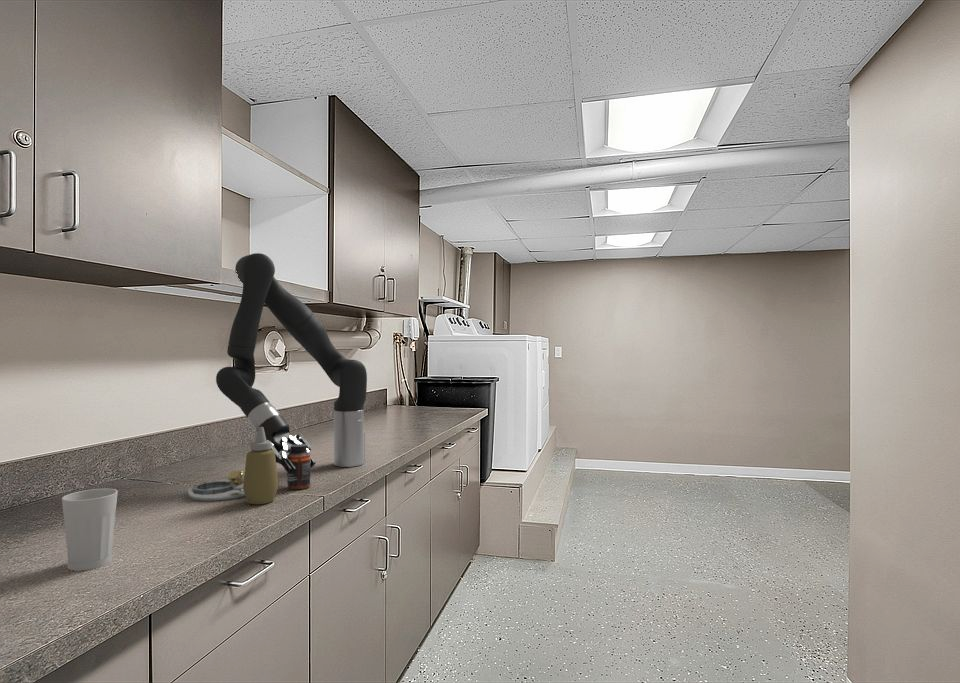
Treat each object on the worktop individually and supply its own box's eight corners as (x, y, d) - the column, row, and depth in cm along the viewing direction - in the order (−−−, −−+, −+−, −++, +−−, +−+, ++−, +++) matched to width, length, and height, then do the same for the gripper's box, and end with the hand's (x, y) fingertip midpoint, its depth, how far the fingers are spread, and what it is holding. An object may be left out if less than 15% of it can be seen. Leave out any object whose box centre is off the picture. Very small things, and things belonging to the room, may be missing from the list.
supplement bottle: (314, 484, 151) (314, 443, 151) (305, 490, 145) (305, 447, 145) (293, 484, 151) (293, 442, 151) (283, 490, 145) (283, 446, 146)
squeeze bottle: (265, 495, 140) (265, 424, 140) (285, 500, 136) (285, 426, 136) (235, 503, 134) (235, 428, 134) (255, 508, 129) (255, 430, 129)
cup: (100, 571, 93) (100, 500, 93) (50, 573, 92) (50, 501, 93) (127, 554, 101) (127, 487, 101) (80, 555, 100) (80, 489, 100)
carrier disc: (223, 482, 154) (223, 466, 154) (270, 487, 148) (270, 470, 148) (173, 497, 139) (173, 479, 139) (222, 503, 133) (222, 485, 133)
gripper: (257, 416, 144) (293, 465, 140) (294, 410, 158) (328, 454, 153) (241, 436, 146) (276, 484, 142) (279, 428, 159) (312, 472, 155)
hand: (303, 468), depth 148 cm, fingers open, 7 cm apart
